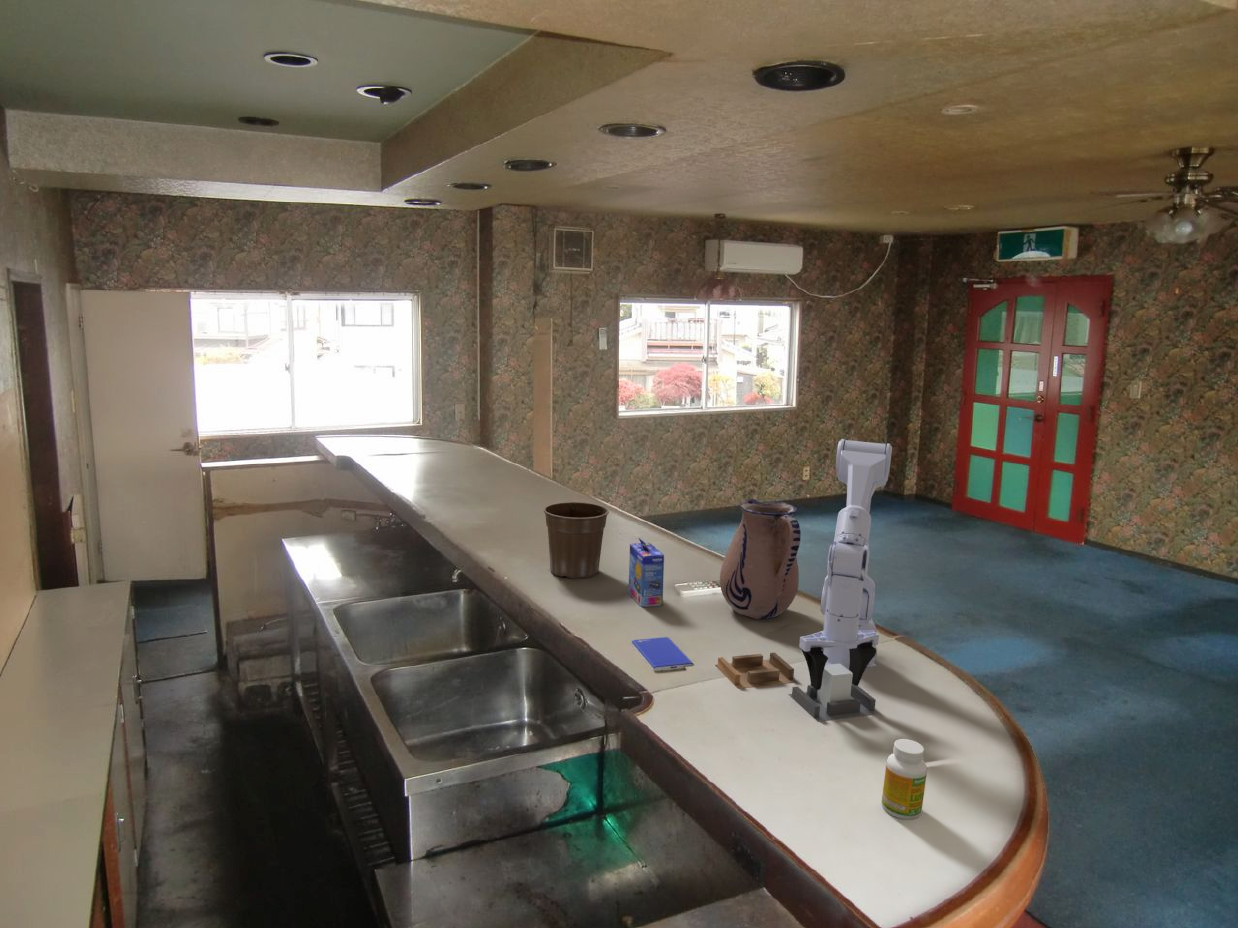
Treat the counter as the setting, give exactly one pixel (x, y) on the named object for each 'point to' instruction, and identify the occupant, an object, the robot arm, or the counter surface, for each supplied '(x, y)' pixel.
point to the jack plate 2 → (835, 704)
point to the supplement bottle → (905, 780)
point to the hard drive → (661, 653)
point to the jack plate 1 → (756, 670)
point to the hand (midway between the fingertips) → (834, 685)
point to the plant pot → (575, 538)
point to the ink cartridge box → (646, 574)
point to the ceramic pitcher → (762, 560)
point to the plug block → (835, 684)
